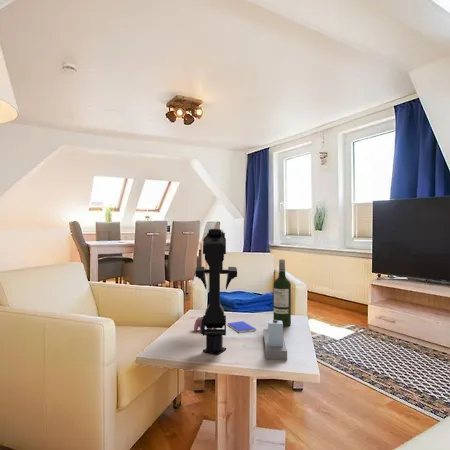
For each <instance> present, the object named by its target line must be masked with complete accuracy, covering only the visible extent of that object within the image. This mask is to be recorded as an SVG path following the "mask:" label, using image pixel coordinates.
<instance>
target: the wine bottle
mask: <svg viewBox="0 0 450 450" xmlns="http://www.w3.org/2000/svg"><path fill="white" fill-rule="evenodd" d="M291 285H292V283H291V282H290V280H289V279H288V278H287V277H286V259H283V258H281V259H279V260H278V277H277V278H276V279H275V280H274V281H273V287H272V288H273V320H278V321H282V322H283V328H284V327H289V326H291V324H292V323H291V322H292V313H291V312H292V311H291V310H292V309H291V308H292V297H291V296H292V295H291V294H292V287H291Z"/></svg>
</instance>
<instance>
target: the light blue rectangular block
mask: <svg viewBox="0 0 450 450" xmlns="http://www.w3.org/2000/svg"><path fill="white" fill-rule="evenodd" d="M267 329H268V345H269V346H280V347H283V339H284V327H283V322H282V321H278V320H274V319H273V320H271V319H270V320H267Z"/></svg>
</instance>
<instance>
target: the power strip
mask: <svg viewBox="0 0 450 450" xmlns="http://www.w3.org/2000/svg"><path fill="white" fill-rule="evenodd" d="M263 341H264V342H263V343H264V349H265V359H266V360H279V361H281V360H283V361H287V360H288V349H287V345H286V342H285V339H284V338H283V347H280V346H269V345H268V328H263Z"/></svg>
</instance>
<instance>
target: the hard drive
mask: <svg viewBox="0 0 450 450" xmlns="http://www.w3.org/2000/svg"><path fill="white" fill-rule="evenodd" d="M227 326H228V327H230V328H231V329H233V330H234V331H235V332H237V333H238V332H239V333H238V334H241V333H242V332H243V333H251V332H256V331H257V328H255V327H254V326H252V325H250V323H249V324H248V323H247V322H245V321H243V320H241V321H233V322H232V321H231V322H227Z"/></svg>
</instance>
